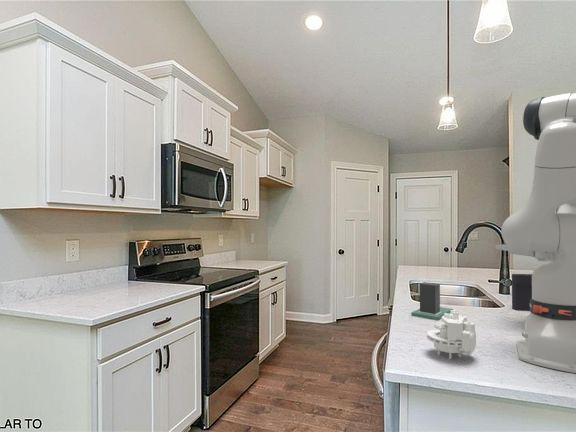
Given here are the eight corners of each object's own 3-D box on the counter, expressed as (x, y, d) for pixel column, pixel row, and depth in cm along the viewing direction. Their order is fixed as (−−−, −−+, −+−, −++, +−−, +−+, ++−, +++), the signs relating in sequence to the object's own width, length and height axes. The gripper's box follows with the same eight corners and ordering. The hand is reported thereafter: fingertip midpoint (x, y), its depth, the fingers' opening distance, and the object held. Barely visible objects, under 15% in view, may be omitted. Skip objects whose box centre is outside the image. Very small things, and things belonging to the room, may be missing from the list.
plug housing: (435, 314, 134) (435, 285, 134) (419, 311, 138) (419, 283, 138) (439, 311, 137) (439, 283, 138) (424, 309, 141) (424, 282, 142)
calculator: (538, 309, 149) (537, 273, 150) (544, 311, 145) (544, 275, 145) (510, 308, 150) (510, 273, 151) (516, 310, 146) (516, 274, 146)
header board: (437, 320, 130) (437, 311, 130) (411, 315, 136) (411, 307, 136) (452, 311, 143) (452, 303, 143) (428, 307, 150) (428, 300, 150)
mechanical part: (432, 345, 102) (432, 304, 103) (478, 354, 96) (478, 310, 96) (422, 357, 93) (422, 312, 94) (472, 367, 86) (472, 319, 87)
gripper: (547, 239, 129) (504, 238, 139) (540, 239, 114) (492, 238, 123) (547, 256, 129) (504, 253, 138) (540, 259, 114) (492, 256, 123)
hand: (498, 246), depth 131 cm, fingers open, 8 cm apart
